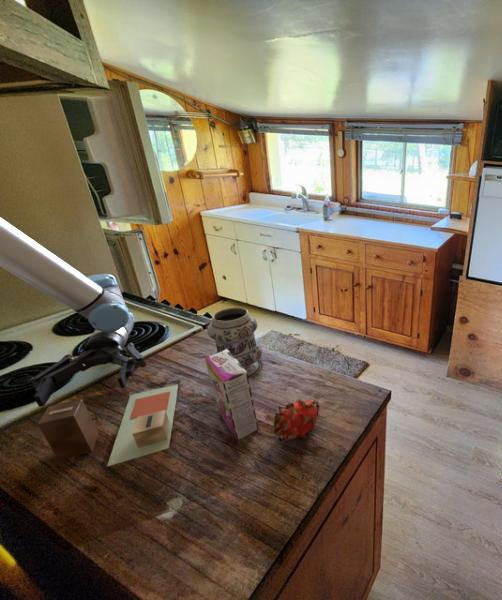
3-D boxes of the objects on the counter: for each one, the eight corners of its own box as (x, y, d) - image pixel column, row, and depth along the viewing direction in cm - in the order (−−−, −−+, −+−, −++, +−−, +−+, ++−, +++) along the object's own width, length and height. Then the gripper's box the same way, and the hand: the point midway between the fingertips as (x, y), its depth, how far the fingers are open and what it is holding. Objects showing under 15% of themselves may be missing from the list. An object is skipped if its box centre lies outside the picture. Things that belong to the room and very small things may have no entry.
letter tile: (138, 448, 66) (131, 433, 64) (142, 430, 70) (136, 416, 68) (167, 439, 68) (162, 425, 67) (169, 423, 72) (165, 409, 71)
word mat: (107, 468, 62) (106, 466, 62) (130, 396, 80) (130, 394, 80) (169, 449, 67) (168, 447, 66) (178, 385, 84) (178, 383, 84)
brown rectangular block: (59, 462, 63) (37, 423, 59) (68, 443, 67) (48, 405, 63) (92, 453, 65) (73, 415, 61) (99, 435, 69) (82, 398, 65)
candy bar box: (218, 414, 76) (203, 356, 69) (239, 404, 79) (227, 347, 72) (236, 443, 69) (222, 381, 62) (259, 430, 72) (248, 370, 65)
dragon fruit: (272, 454, 68) (315, 425, 78) (294, 451, 64) (337, 421, 73) (257, 416, 69) (302, 392, 79) (278, 410, 64) (323, 386, 74)
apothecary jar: (254, 353, 98) (244, 299, 91) (272, 371, 91) (263, 315, 83) (211, 369, 91) (197, 312, 83) (227, 391, 83) (213, 330, 75)
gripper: (166, 344, 94) (156, 389, 77) (50, 366, 83) (9, 424, 66) (159, 322, 91) (147, 363, 74) (37, 341, 80) (-10, 395, 63)
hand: (81, 392), depth 70 cm, fingers open, 13 cm apart
